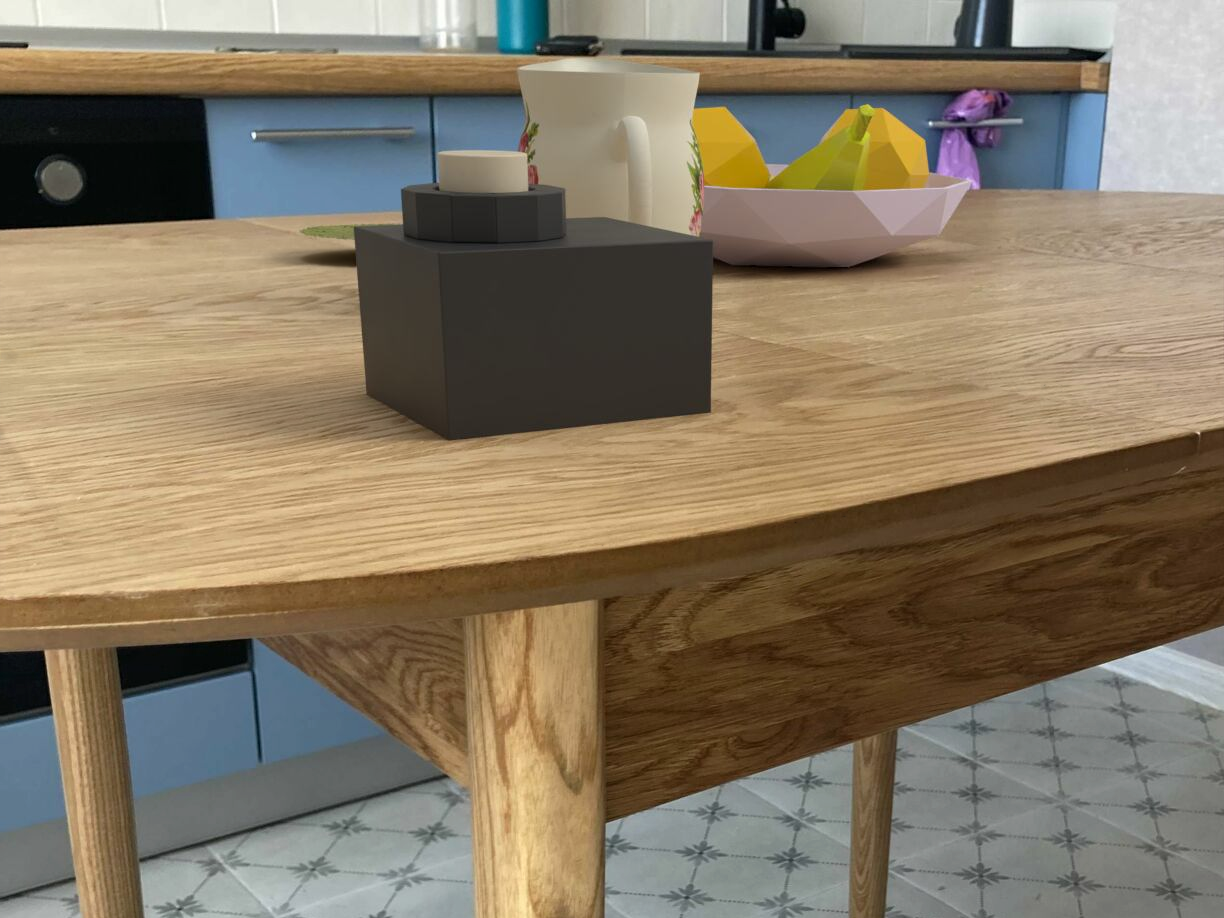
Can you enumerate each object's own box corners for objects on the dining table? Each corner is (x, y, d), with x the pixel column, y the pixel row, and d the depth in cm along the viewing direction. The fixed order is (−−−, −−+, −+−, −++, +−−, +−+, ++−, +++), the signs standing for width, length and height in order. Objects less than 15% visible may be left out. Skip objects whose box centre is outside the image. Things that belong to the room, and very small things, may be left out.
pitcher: (542, 339, 83) (533, 59, 77) (505, 291, 99) (496, 56, 93) (740, 335, 85) (746, 63, 79) (673, 289, 101) (674, 59, 95)
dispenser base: (449, 442, 61) (435, 201, 57) (366, 395, 69) (349, 181, 65) (711, 413, 67) (714, 193, 63) (607, 373, 74) (604, 175, 71)
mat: (288, 251, 116) (286, 223, 115) (435, 246, 120) (434, 220, 119) (319, 269, 107) (316, 240, 106) (477, 264, 111) (475, 235, 110)
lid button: (459, 203, 61) (457, 156, 60) (426, 195, 64) (424, 150, 63) (542, 201, 63) (541, 154, 62) (507, 193, 65) (506, 149, 65)
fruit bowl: (629, 234, 130) (628, 88, 126) (951, 242, 130) (962, 96, 125) (589, 278, 105) (586, 98, 100) (989, 289, 104) (1005, 107, 99)
